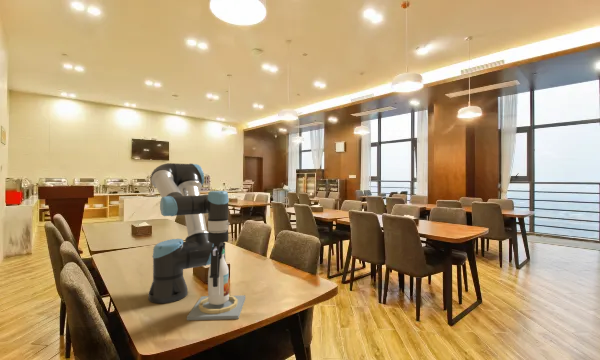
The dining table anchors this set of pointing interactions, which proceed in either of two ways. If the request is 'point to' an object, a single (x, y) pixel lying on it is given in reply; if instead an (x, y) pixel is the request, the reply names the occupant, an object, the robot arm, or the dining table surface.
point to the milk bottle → (223, 284)
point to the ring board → (217, 309)
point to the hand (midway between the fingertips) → (218, 290)
